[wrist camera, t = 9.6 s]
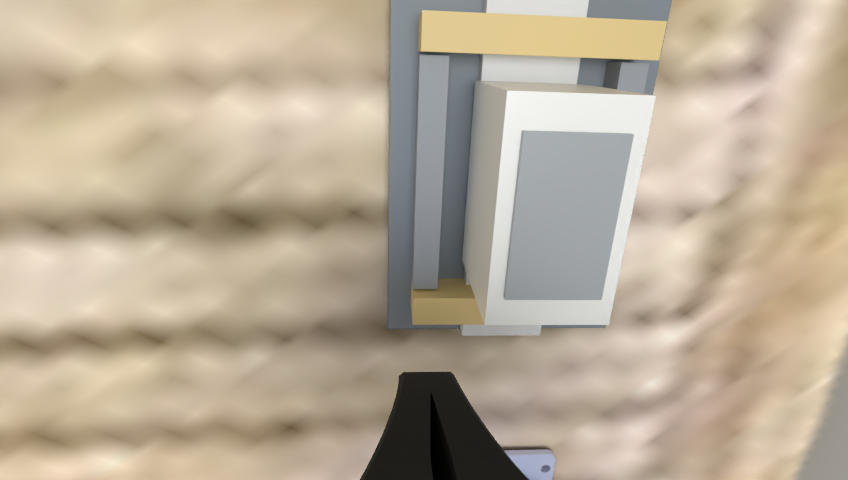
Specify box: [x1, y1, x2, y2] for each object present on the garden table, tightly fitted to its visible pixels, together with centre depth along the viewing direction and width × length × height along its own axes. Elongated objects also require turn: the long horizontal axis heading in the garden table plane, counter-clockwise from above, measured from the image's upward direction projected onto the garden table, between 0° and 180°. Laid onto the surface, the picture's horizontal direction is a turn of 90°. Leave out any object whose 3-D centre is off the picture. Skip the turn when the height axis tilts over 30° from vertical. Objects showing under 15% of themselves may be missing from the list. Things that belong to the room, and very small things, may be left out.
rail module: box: [462, 80, 656, 325], centre depth 16 cm, size 7×4×5 cm, turn 178°
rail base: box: [388, 0, 672, 336], centre depth 18 cm, size 14×10×3 cm
